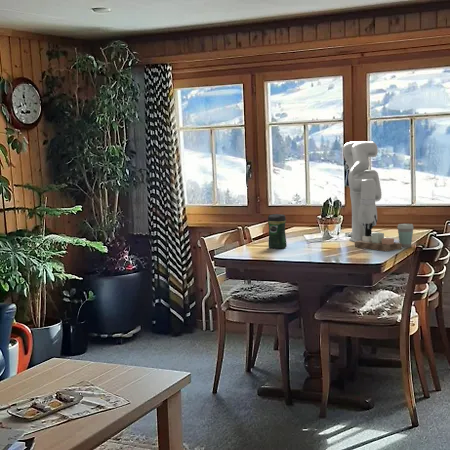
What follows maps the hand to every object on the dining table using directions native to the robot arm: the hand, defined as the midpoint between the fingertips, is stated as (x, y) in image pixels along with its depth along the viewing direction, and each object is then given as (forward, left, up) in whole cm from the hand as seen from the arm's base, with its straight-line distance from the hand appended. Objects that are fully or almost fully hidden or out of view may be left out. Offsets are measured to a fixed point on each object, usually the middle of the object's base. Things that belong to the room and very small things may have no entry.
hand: (368, 236), depth 362 cm
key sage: (+7, 0, -3) cm, 7 cm away
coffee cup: (+14, +13, -6) cm, 20 cm away
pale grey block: (0, 0, -5) cm, 5 cm away
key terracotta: (+14, 0, -5) cm, 15 cm away
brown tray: (+7, 0, -6) cm, 9 cm away
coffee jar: (-31, -38, -6) cm, 49 cm away
